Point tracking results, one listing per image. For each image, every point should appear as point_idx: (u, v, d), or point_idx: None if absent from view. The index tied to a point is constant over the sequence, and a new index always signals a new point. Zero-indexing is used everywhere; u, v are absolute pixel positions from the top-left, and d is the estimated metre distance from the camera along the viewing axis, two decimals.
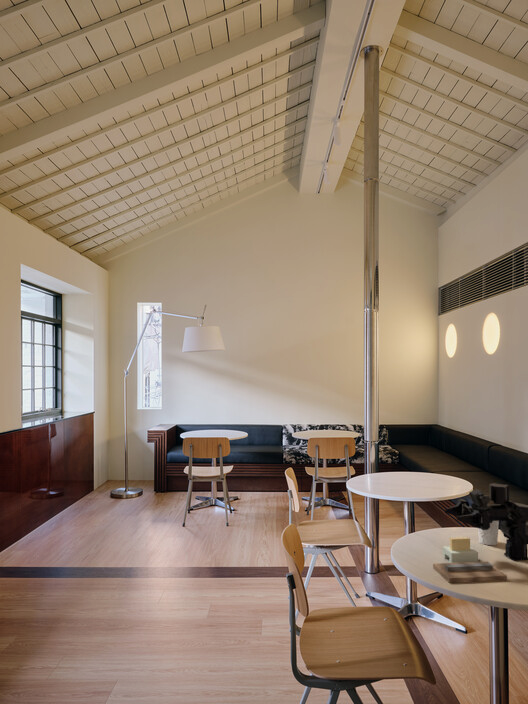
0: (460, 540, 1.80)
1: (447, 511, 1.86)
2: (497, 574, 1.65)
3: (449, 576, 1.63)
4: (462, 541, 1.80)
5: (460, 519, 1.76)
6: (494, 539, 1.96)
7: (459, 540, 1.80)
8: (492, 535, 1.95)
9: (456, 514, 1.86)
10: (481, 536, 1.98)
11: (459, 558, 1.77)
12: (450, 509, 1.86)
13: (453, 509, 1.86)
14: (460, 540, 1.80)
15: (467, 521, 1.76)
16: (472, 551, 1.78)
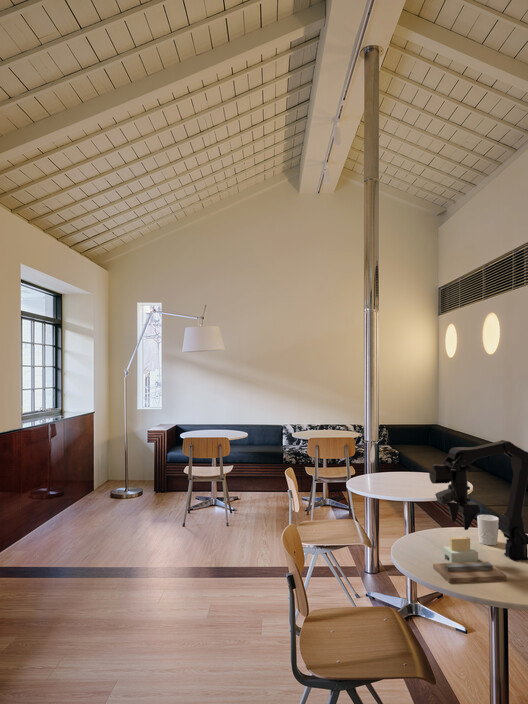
0: (460, 540, 1.80)
1: (454, 519, 1.86)
2: (497, 574, 1.65)
3: (449, 576, 1.63)
4: (462, 541, 1.80)
5: (467, 527, 1.76)
6: (494, 539, 1.96)
7: (459, 540, 1.80)
8: (492, 535, 1.95)
9: (457, 509, 1.86)
10: (481, 536, 1.98)
11: (459, 558, 1.77)
12: (452, 516, 1.86)
13: (452, 512, 1.86)
14: (460, 540, 1.80)
15: (470, 521, 1.76)
16: (472, 551, 1.78)
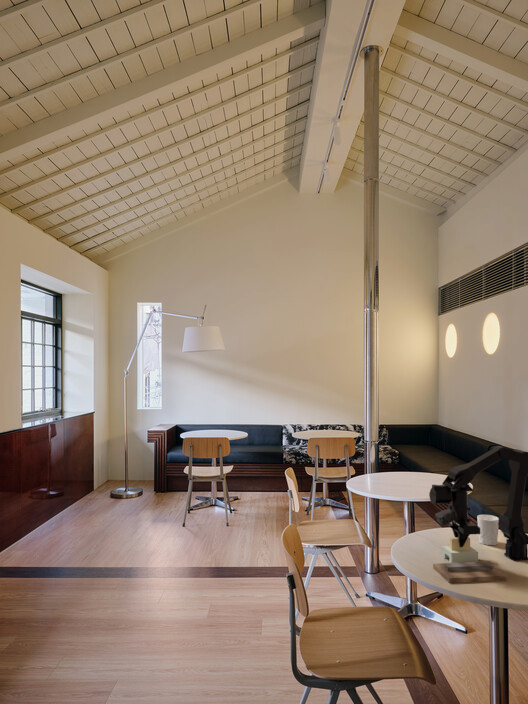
0: None
1: None
2: (497, 574, 1.65)
3: (449, 576, 1.63)
4: None
5: (462, 544, 1.80)
6: (494, 539, 1.96)
7: None
8: (492, 535, 1.95)
9: None
10: (481, 536, 1.98)
11: (459, 558, 1.77)
12: None
13: (457, 535, 1.82)
14: None
15: (465, 538, 1.79)
16: (472, 551, 1.78)
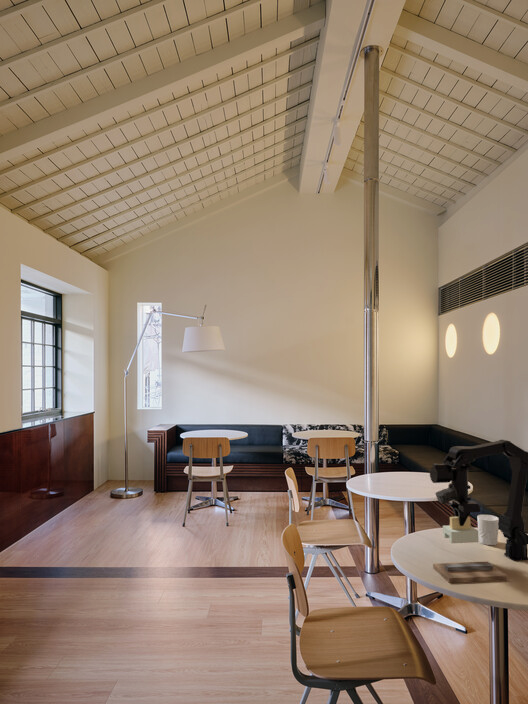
0: None
1: None
2: (497, 574, 1.65)
3: (449, 576, 1.63)
4: None
5: (462, 523, 1.79)
6: (494, 539, 1.96)
7: None
8: (492, 535, 1.95)
9: None
10: (481, 536, 1.98)
11: (459, 537, 1.76)
12: None
13: (457, 514, 1.81)
14: None
15: (465, 517, 1.78)
16: (472, 530, 1.78)
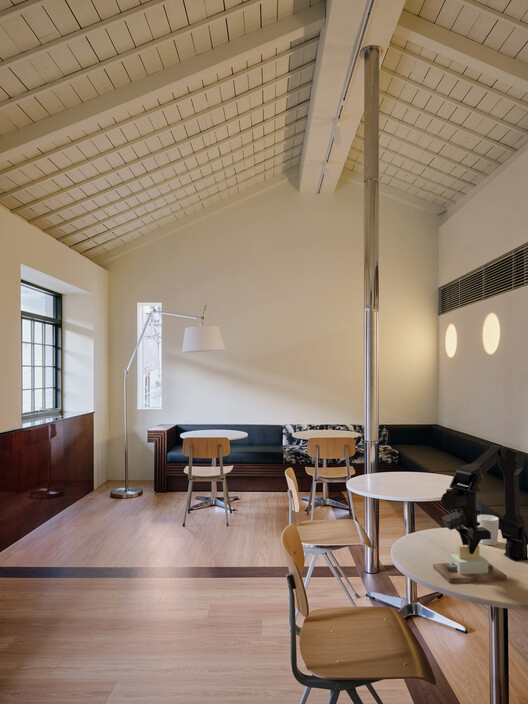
0: None
1: None
2: (497, 574, 1.65)
3: (449, 576, 1.63)
4: None
5: (472, 550, 1.67)
6: (494, 539, 1.96)
7: (468, 548, 1.68)
8: (492, 535, 1.95)
9: None
10: None
11: (468, 567, 1.65)
12: (464, 543, 1.71)
13: (464, 539, 1.71)
14: (468, 548, 1.68)
15: (475, 544, 1.66)
16: (481, 560, 1.66)
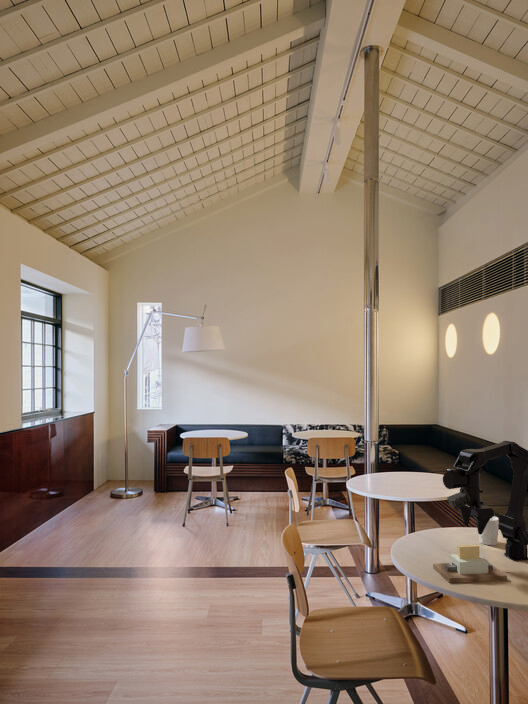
0: (469, 548, 1.68)
1: (466, 523, 1.81)
2: (497, 574, 1.65)
3: (449, 576, 1.63)
4: (470, 549, 1.68)
5: (481, 531, 1.71)
6: (494, 539, 1.96)
7: (468, 548, 1.68)
8: (492, 535, 1.95)
9: (469, 512, 1.82)
10: (481, 536, 1.98)
11: (468, 567, 1.65)
12: (464, 519, 1.81)
13: (464, 516, 1.81)
14: (468, 548, 1.68)
15: (484, 525, 1.71)
16: (481, 560, 1.66)
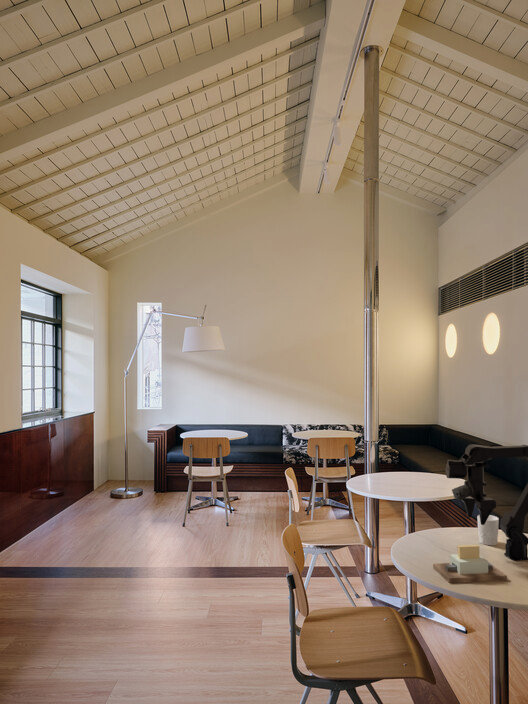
0: (469, 548, 1.68)
1: (470, 514, 1.89)
2: (497, 574, 1.65)
3: (449, 576, 1.63)
4: (470, 549, 1.68)
5: (484, 522, 1.80)
6: (494, 539, 1.96)
7: (468, 548, 1.68)
8: (492, 535, 1.95)
9: (473, 504, 1.90)
10: (481, 536, 1.98)
11: (468, 567, 1.65)
12: (468, 511, 1.90)
13: (468, 508, 1.90)
14: (468, 548, 1.68)
15: (486, 516, 1.79)
16: (481, 560, 1.66)
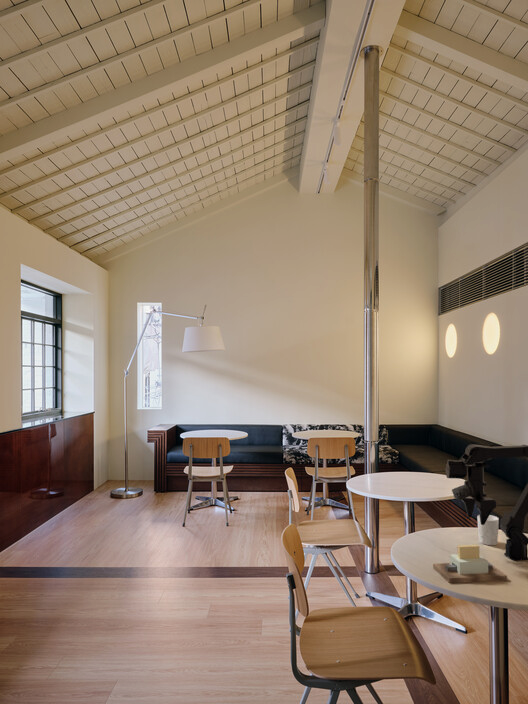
0: (469, 548, 1.68)
1: (470, 514, 1.89)
2: (497, 574, 1.65)
3: (449, 576, 1.63)
4: (470, 549, 1.68)
5: (484, 522, 1.80)
6: (494, 539, 1.96)
7: (468, 548, 1.68)
8: (492, 535, 1.95)
9: (473, 504, 1.90)
10: (481, 536, 1.98)
11: (468, 567, 1.65)
12: (468, 511, 1.90)
13: (468, 508, 1.90)
14: (468, 548, 1.68)
15: (486, 516, 1.79)
16: (481, 560, 1.66)
